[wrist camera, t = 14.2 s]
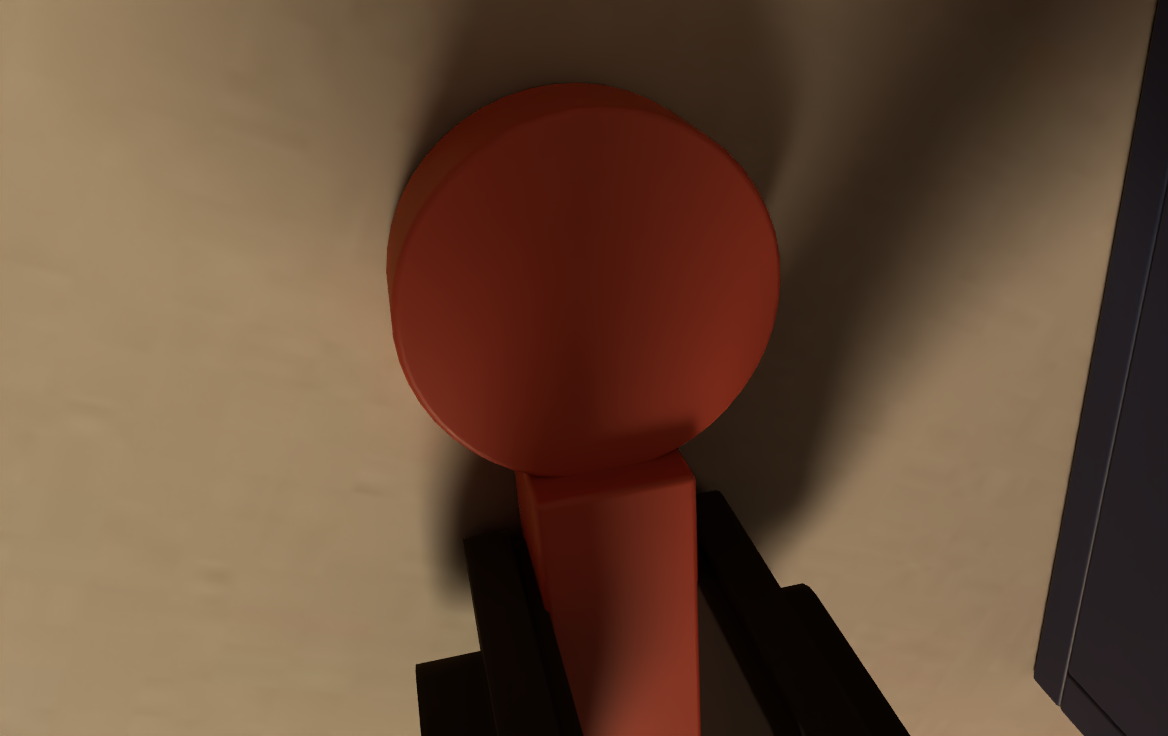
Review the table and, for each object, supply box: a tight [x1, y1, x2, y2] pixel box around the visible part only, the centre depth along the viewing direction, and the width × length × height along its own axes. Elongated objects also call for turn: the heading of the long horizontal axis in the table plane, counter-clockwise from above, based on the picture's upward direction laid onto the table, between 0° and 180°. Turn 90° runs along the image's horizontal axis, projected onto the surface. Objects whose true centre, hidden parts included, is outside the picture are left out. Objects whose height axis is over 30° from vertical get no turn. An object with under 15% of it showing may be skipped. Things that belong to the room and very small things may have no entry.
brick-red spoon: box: [386, 83, 781, 736], centre depth 10 cm, size 9×4×2 cm, turn 4°
